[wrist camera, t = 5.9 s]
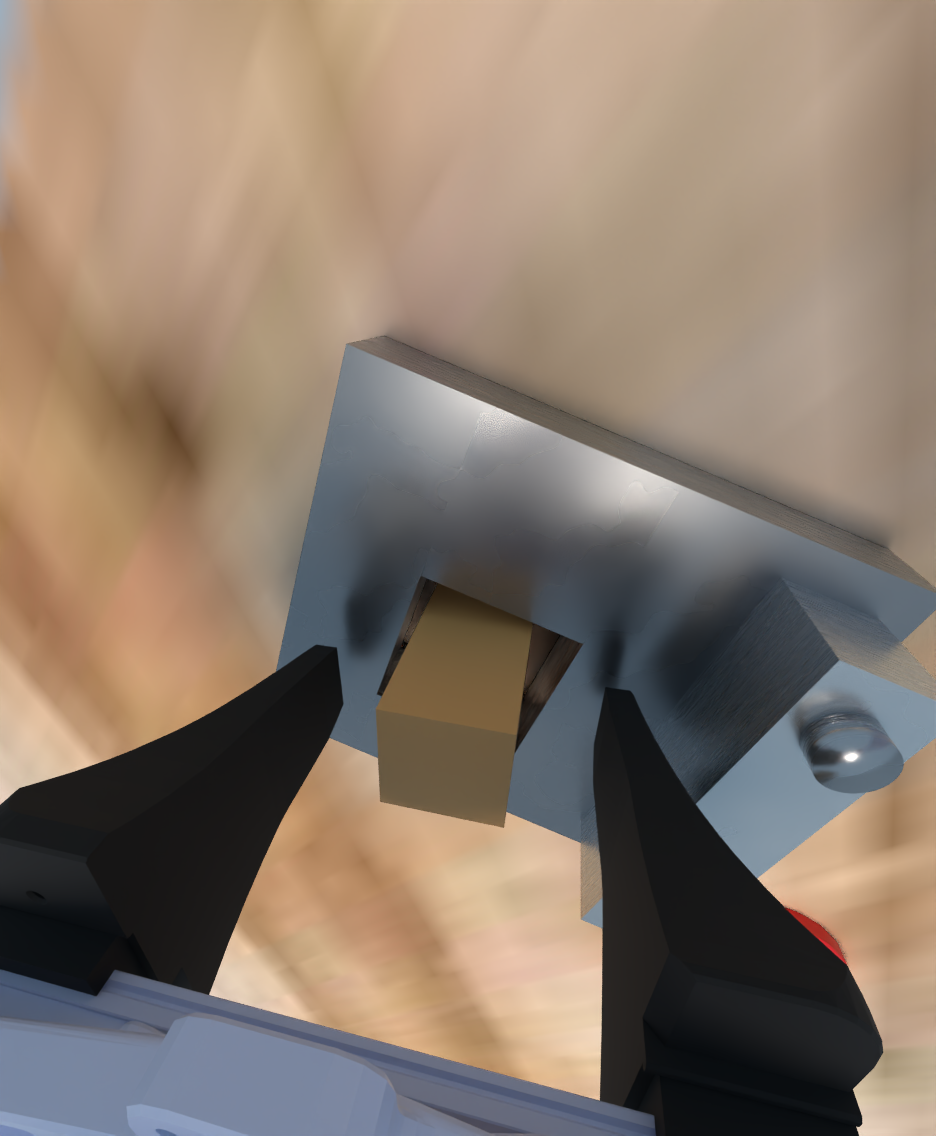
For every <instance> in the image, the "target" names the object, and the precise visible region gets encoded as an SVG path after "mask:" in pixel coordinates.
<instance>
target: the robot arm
mask: <svg viewBox="0 0 936 1136" xmlns="http://www.w3.org/2000/svg"><path fill="white" fill-rule="evenodd" d="M343 704H344V702H343V694H342V685H341V677H340V669H339V660H338V652H337V647H331V646H324V645H317V644H316V645H315V646H313V647H312V648H310V649H308V650H307V651H305V652H304V653H302V654H301V655H300V656H298V657H297V658H295V659H294V660H292V661H291V662H289V663H288V664H287V665H285V666H284V667H282V668H281V669H279V670H278V671H276V672H275V673H273V674H272V675H270V676H269V677H267V678H266V679H264V680H263V681H261V682H260V683H258V684H257V685H255V686H254V687H252V688H251V689H249V690H248V691H246V692H244V693H243V694H241V695H239V696H238V697H236V698H234V699H233V700H231V701H230V702H228V703H226V704H225V705H223V706H221V707H220V708H218V709H216V710H215V711H213V712H211V713H209V714H207V715H206V716H204V717H202V718H200V719H198V720H196V721H194V722H192V723H190V724H188V725H186V726H185V727H183V728H181V729H179V730H177V731H174V732H172V733H170V734H168V735H166V736H163V737H161V738H159V739H157V740H154V741H152V742H150V743H148V744H145V745H143V746H141V747H139V748H136V749H134V750H132V751H129V752H127V753H124V754H122V755H119V756H116V757H114V758H111V759H109V760H106V761H103V762H100V763H98V764H95V765H92V766H89V767H86V768H84V769H81V770H78V771H75V772H72V773H68V774H65V775H62V776H59V777H55V778H52V779H49V780H45V781H42V782H39V783H36V784H32V785H29V786H25V787H22V788H19V789H18V790H17V791H15V792H14V793H13V794H12V795H11V796H10V797H9V798H8V799H6V800H5V801H4V802H3V803H2V804H1V805H0V1136H859V1134H858V1131H857V1128H856V1126H857V1127H860V1126H861V1125H862V1115H861V1112H860V1109H859V1106H858V1103H857V1100H856V1098H855V1095H854V1092H853V1088H854V1087H855V1086H856V1085H857V1084H858V1083H859V1082H860V1081H861V1080H862V1079H863V1078H864V1077H865V1076H866V1075H867V1074H868V1073H869V1072H870V1071H871V1070H872V1069H873V1068H874V1067H875V1065H876V1064H877V1062H878V1060H879V1059H880V1057H881V1055H882V1054H883V1046H882V1039H881V1037H880V1035H879V1032H878V1030H877V1027H876V1025H875V1022H874V1020H873V1017H872V1015H871V1012H870V1010H869V1008H868V1006H867V1004H866V1001H865V999H864V997H863V995H862V993H861V991H860V989H859V987H858V985H857V983H856V982H855V980H854V978H853V976H852V974H851V972H850V970H849V968H848V966H847V965H846V964H845V963H844V962H843V961H842V960H841V959H840V958H839V957H838V956H836V955H835V954H834V953H833V952H832V951H831V950H830V949H829V948H828V947H827V946H825V945H824V944H823V943H822V942H821V941H820V940H819V939H818V938H817V937H816V936H814V935H813V934H812V933H811V932H810V931H809V930H808V929H807V928H806V927H805V926H803V925H802V924H801V923H800V922H799V921H798V920H797V919H796V918H795V917H794V916H793V915H792V914H791V913H790V912H789V911H788V910H787V909H786V908H785V907H784V906H783V905H782V904H781V903H780V902H779V901H778V900H777V899H776V898H775V897H774V896H773V895H772V894H771V893H770V892H769V891H768V890H767V889H766V888H765V887H764V886H763V885H762V884H761V882H760V881H759V880H758V879H757V878H756V877H755V876H754V875H753V874H752V872H751V871H750V870H749V869H748V868H747V867H746V866H745V865H744V864H743V862H742V861H741V860H740V859H739V858H738V857H737V856H736V855H735V854H734V852H733V851H732V850H731V849H730V848H729V846H728V845H727V844H726V843H725V841H724V840H723V839H722V838H721V836H720V835H719V834H718V833H717V832H716V830H715V829H714V828H713V826H712V825H711V824H710V822H709V821H708V820H707V818H706V817H705V816H704V815H703V813H702V812H701V810H700V809H699V808H698V806H697V805H696V803H695V802H694V801H693V799H692V798H691V796H690V795H689V793H688V792H687V790H686V789H685V787H684V786H683V784H682V783H681V781H680V780H679V778H678V777H677V775H676V773H675V772H674V770H673V769H672V767H671V765H670V764H669V762H668V760H667V759H666V757H665V755H664V753H663V752H662V750H661V748H660V746H659V745H658V743H657V741H656V739H655V738H654V736H653V734H652V732H651V730H650V728H649V726H648V724H647V722H646V720H645V718H644V716H643V714H642V712H641V710H640V708H639V706H638V703H637V701H636V699H635V696H634V694H633V693H632V692H631V691H630V690H623V689H616V688H609V687H605V691H604V696H603V701H602V706H601V711H600V716H599V721H598V726H597V731H596V736H595V741H594V751H593V790H594V801H595V812H596V822H597V833H598V843H599V853H600V864H601V876H602V919H603V948H602V1039H601V1080H600V1101H599V1100H595V1099H591V1098H588V1097H584V1096H580V1095H577V1094H573V1093H569V1092H566V1091H562V1090H558V1089H554V1088H551V1087H547V1086H543V1085H540V1084H536V1083H532V1082H529V1081H525V1080H521V1079H517V1078H514V1077H510V1076H506V1075H503V1074H499V1073H495V1072H492V1071H488V1070H484V1069H480V1068H477V1067H473V1066H469V1065H466V1064H462V1063H458V1062H455V1061H451V1060H447V1059H444V1058H440V1057H436V1056H432V1055H429V1054H425V1053H421V1052H418V1051H414V1050H410V1049H407V1048H403V1047H399V1046H395V1045H392V1044H388V1043H384V1042H381V1041H377V1040H373V1039H370V1038H366V1037H362V1036H358V1035H355V1034H351V1033H347V1032H344V1031H340V1030H336V1029H333V1028H329V1027H325V1026H321V1025H318V1024H314V1023H310V1022H307V1021H303V1020H299V1019H296V1018H292V1017H288V1016H284V1015H281V1014H277V1013H273V1012H270V1011H266V1010H262V1009H259V1008H255V1007H251V1006H248V1005H244V1004H240V1003H236V1002H233V1001H229V1000H225V999H222V998H218V997H214V996H211V995H209V993H210V991H211V988H212V985H213V983H214V980H215V977H216V975H217V972H218V969H219V967H220V964H221V961H222V959H223V956H224V953H225V951H226V948H227V945H228V943H229V940H230V938H231V935H232V933H233V930H234V928H235V925H236V923H237V921H238V918H239V916H240V913H241V911H242V908H243V906H244V903H245V901H246V898H247V896H248V894H249V891H250V889H251V887H252V885H253V882H254V880H255V878H256V875H257V873H258V871H259V868H260V866H261V864H262V861H263V859H264V857H265V855H266V853H267V851H268V848H269V846H270V844H271V842H272V840H273V838H274V835H275V833H276V831H277V829H278V827H279V825H280V823H281V821H282V819H283V817H284V815H285V813H286V812H287V810H288V808H289V806H290V805H291V803H292V801H293V799H294V798H295V796H296V794H297V793H298V791H299V789H300V787H301V786H302V784H303V782H304V781H305V779H306V777H307V776H308V774H309V772H310V770H311V769H312V767H313V765H314V764H315V762H316V760H317V758H318V757H319V755H320V753H321V752H322V750H323V748H324V746H325V745H326V743H327V741H328V739H329V737H330V735H331V733H332V731H333V728H334V726H335V724H336V722H337V719H338V717H339V714H340V712H341V709H342V707H343Z"/></svg>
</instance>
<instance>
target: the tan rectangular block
mask: <svg viewBox="0 0 936 1136" xmlns="http://www.w3.org/2000/svg"><path fill="white" fill-rule="evenodd" d="M532 627H533V623H532V622H529V621H527V620H525V619H522V618H520V617H518V616H515V615H513V614H510V613H508V612H506V611H503V610H501V609H499V608H496V607H494V606H491V605H489V604H487V603H484V602H482V601H480V600H477V599H475V598H472V597H470V596H468V595H465V594H463V593H461V592H458V591H456V590H453V589H451V588H449V587H446V586H444V585H442V584H439V583H438V584H437V586H436V588H435V590H434V592H433V594H432V596H431V598H430V600H429V602H428V604H427V606H426V608H425V610H424V612H423V614H422V616H421V618H420V620H419V622H418V624H417V626H416V628H415V630H414V632H413V634H412V636H411V639H410V641H409V643H408V645H407V647H406V649H405V651H404V653H403V655H402V657H401V659H400V661H399V663H398V665H397V667H396V669H395V671H394V673H393V675H392V677H391V679H390V681H389V683H388V685H387V687H386V689H385V691H384V693H383V695H382V697H381V699H380V701H379V703H378V706H377V708H376V725H377V745H378V765H379V786H380V802H384V803H389V804H394V805H399V806H403V807H408V808H413V809H418V810H422V811H427V812H432V813H437V814H441V815H446V816H451V817H456V818H460V819H465V820H470V821H475V822H479V823H484V824H489V825H494V826H498V827H503V828H504V824H505V817H506V810H507V803H508V796H509V789H510V782H511V775H512V768H513V761H514V754H515V747H516V740H517V733H518V726H519V719H520V712H521V705H522V699H523V692H524V685H525V678H526V671H527V664H528V656H529V649H530V642H531V634H532Z"/></svg>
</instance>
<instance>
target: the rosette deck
mask: <svg viewBox="0 0 936 1136" xmlns="http://www.w3.org/2000/svg"><path fill="white" fill-rule="evenodd" d="M426 579H430V580H432V581H434V582H437V583H439V584H442V585H444V586H446V587H449V588H451V589H453V590H456V591H458V592H461V593H463V594H465V595H468V596H470V597H472V598H475V599H477V600H480V601H482V602H484V603H487V604H489V605H491V606H494V607H496V608H499V609H501V610H503V611H506V612H508V613H510V614H513V615H515V616H518V617H520V618H522V619H525V620H527V621H529V622H532V623H534V624H537V625H539V626H541V627H544V628H546V629H549V630H551V631H553V632H556V633H558V634H560V637H559V638H558V640H557V642H556V644H555V645H554V647H553V649H552V650H551V652H550V654H549V655H548V657H547V659H546V661H545V662H544V664H543V666H542V667H541V669H540V671H539V672H538V674H537V676H536V678H535V679H534V681H533V683H532V684H531V686H530V688H529V689H528V691H527V693H526V695H525V696H524V698H523V699H522V705H521V712H520V719H519V726H518V733H517V740H516V747H515V754H514V761H513V768H512V775H511V782H510V789H509V796H508V803H507V810H506V812H508V813H511V814H513V815H515V816H518V817H520V818H523V819H525V820H527V821H530V822H532V823H535V824H537V825H539V826H542V827H544V828H547V829H549V830H551V831H554V832H556V833H558V834H561V835H563V836H566V837H568V838H570V839H573V840H575V841H578V842H580V843H581V920H584V921H586V922H589V923H591V924H593V925H596V926H598V927H601V928H603V919H602V876H601V864H600V853H599V843H598V833H597V822H596V812H595V801H594V790H593V751H594V741H595V736H596V731H597V726H598V721H599V716H600V711H601V706H602V701H603V696H604V691H605V687H609V688H616V689H623V690H630V691H631V692H632V693H633V694H634V696H635V699H636V701H637V703H638V706H639V708H640V710H641V712H642V714H643V716H644V718H645V720H646V722H647V724H648V726H649V728H650V730H651V732H652V734H653V736H654V738H655V739H656V741H657V743H658V745H659V746H660V748H661V750H662V752H663V753H664V755H665V757H666V759H667V760H668V762H669V764H670V765H671V767H672V769H673V770H674V772H675V773H676V775H677V777H678V778H679V780H680V781H681V783H682V784H683V786H684V787H685V789H686V790H687V792H688V793H689V795H690V796H691V798H692V799H693V801H694V802H695V803H696V805H697V806H698V808H699V809H700V810H701V812H702V813H703V815H704V816H705V817H706V818H707V820H708V821H709V822H710V824H711V825H712V826H713V828H714V829H715V830H716V832H717V833H718V834H719V835H720V836H721V838H722V839H723V840H724V841H725V843H726V844H727V845H728V846H729V848H730V849H731V850H732V851H733V852H734V854H735V855H736V856H737V857H738V858H739V859H740V860H741V861H742V862H743V864H744V865H745V866H746V867H747V868H748V869H749V870H750V871H751V872H752V874H753V875H754V876H755V877H756V878H758V877H759V876H761V875H762V874H763V873H764V872H766V871H767V870H768V869H769V868H771V867H772V866H773V865H775V864H776V863H777V862H778V861H780V860H781V859H782V858H783V857H785V856H786V855H787V854H789V853H790V852H791V851H792V850H794V849H795V848H796V847H797V846H799V845H800V844H801V843H803V842H804V841H805V840H806V839H808V838H809V837H810V836H811V835H813V834H814V833H815V832H816V831H818V830H819V829H820V828H822V827H823V826H824V825H825V824H827V823H828V822H829V821H830V820H832V819H833V818H834V817H836V816H837V815H838V814H839V813H841V812H842V811H843V810H844V809H846V808H847V807H848V806H850V805H851V804H852V803H853V802H855V801H856V800H857V799H858V798H860V797H861V796H862V795H864V794H865V793H866V792H871V791H875V790H878V789H880V788H883V787H885V786H887V785H889V784H890V783H892V782H893V781H894V780H895V779H896V778H897V777H898V776H899V775H900V773H901V772H902V769H903V765H904V762H905V761H907V760H908V759H909V758H911V757H912V756H913V755H914V754H916V753H917V752H918V751H919V750H921V749H922V748H923V747H924V746H926V745H927V744H928V743H930V742H931V741H932V740H933V739H935V738H936V680H935V679H934V678H933V677H932V676H931V675H930V674H929V672H928V671H927V670H926V669H925V668H924V667H923V666H922V665H921V664H920V663H919V662H918V660H917V659H916V658H915V657H914V656H913V655H912V654H911V653H910V652H909V651H908V650H907V648H906V647H905V646H904V645H903V644H902V643H901V642H902V641H903V640H904V639H905V638H906V637H907V636H908V635H909V634H910V633H912V632H913V631H914V630H915V629H916V628H917V627H918V626H919V625H920V624H921V623H922V622H923V621H924V620H925V619H926V618H927V617H928V616H930V615H931V614H932V613H933V612H934V611H935V610H936V588H935V587H934V586H932V585H931V584H930V583H929V582H928V581H926V580H925V579H924V578H923V577H922V576H920V575H919V574H918V573H917V572H916V571H914V570H913V569H912V568H911V567H910V566H908V565H907V564H906V563H905V562H904V561H902V560H901V559H900V558H899V557H898V556H896V555H895V554H894V553H893V552H892V551H890V550H889V549H887V548H884V547H882V546H879V545H877V544H875V543H872V542H870V541H868V540H865V539H863V538H861V537H858V536H856V535H853V534H851V533H849V532H846V531H844V530H842V529H839V528H837V527H835V526H832V525H830V524H827V523H825V522H823V521H820V520H818V519H816V518H813V517H811V516H809V515H806V514H804V513H801V512H799V511H797V510H794V509H792V508H790V507H787V506H785V505H783V504H780V503H778V502H775V501H773V500H771V499H768V498H766V497H764V496H761V495H759V494H757V493H754V492H752V491H749V490H747V489H745V488H742V487H740V486H738V485H735V484H733V483H731V482H728V481H726V480H723V479H721V478H719V477H716V476H714V475H712V474H709V473H707V472H705V471H702V470H700V469H697V468H695V467H693V466H690V465H688V464H686V463H683V462H681V461H679V460H676V459H674V458H671V457H669V456H667V455H664V454H662V453H660V452H657V451H655V450H653V449H650V448H648V447H646V446H643V445H641V444H638V443H636V442H634V441H631V440H629V439H627V438H624V437H622V436H620V435H617V434H615V433H612V432H610V431H608V430H605V429H603V428H601V427H598V426H596V425H594V424H591V423H589V422H586V421H584V420H582V419H579V418H577V417H575V416H572V415H570V414H568V413H565V412H563V411H560V410H558V409H556V408H553V407H551V406H549V405H546V404H544V403H542V402H539V401H537V400H534V399H532V398H530V397H527V396H525V395H523V394H520V393H518V392H516V391H513V390H511V389H508V388H506V387H504V386H501V385H499V384H497V383H494V382H492V381H490V380H487V379H485V378H482V377H480V376H478V375H475V374H473V373H471V372H468V371H466V370H464V369H461V368H459V367H456V366H454V365H452V364H449V363H447V362H445V361H442V360H440V359H438V358H435V357H433V356H430V355H428V354H426V353H423V352H421V351H419V350H416V349H414V348H412V347H409V346H407V345H404V344H402V343H400V342H397V341H395V340H393V339H390V338H388V337H386V336H380V337H376V338H371V339H366V340H362V341H357V342H353V343H348V344H346V348H345V352H344V357H343V362H342V366H341V371H340V376H339V380H338V385H337V390H336V394H335V399H334V404H333V408H332V413H331V418H330V422H329V427H328V432H327V436H326V441H325V445H324V450H323V455H322V459H321V464H320V469H319V473H318V478H317V483H316V487H315V492H314V497H313V501H312V506H311V511H310V515H309V520H308V525H307V529H306V534H305V539H304V543H303V548H302V553H301V557H300V562H299V567H298V571H297V576H296V581H295V585H294V590H293V595H292V599H291V604H290V609H289V613H288V618H287V623H286V627H285V632H284V637H283V641H282V646H281V651H280V655H279V660H278V665H277V669H276V671H278V670H279V669H281V668H282V667H284V666H285V665H287V664H288V663H289V662H291V661H292V660H294V659H295V658H297V657H298V656H300V655H301V654H302V653H304V652H305V651H307V650H308V649H310V648H312V647H313V646H315V645H316V644H317V645H324V646H331V647H337V652H338V660H339V669H340V677H341V685H342V694H343V702H344V704H343V707H342V709H341V712H340V714H339V717H338V719H337V722H336V724H335V726H334V728H333V731H332V733H331V735H330V737H329V738H331V739H334V740H336V741H339V742H341V743H343V744H346V745H348V746H350V747H353V748H355V749H358V750H360V751H362V752H365V753H367V754H370V755H372V756H374V757H377V758H378V745H377V725H376V708H377V706H378V703H379V701H380V699H381V697H382V695H383V693H384V691H385V689H386V687H387V685H388V683H389V681H390V679H391V677H392V675H393V673H394V671H395V669H396V667H397V665H398V663H399V661H400V659H401V657H402V655H403V653H404V651H405V649H404V648H401V645H402V642H403V640H404V637H405V634H406V632H407V629H408V626H409V624H410V621H411V618H412V616H413V613H414V611H415V608H416V605H417V603H418V600H419V597H420V595H421V592H422V589H423V587H424V584H425V581H426Z"/></svg>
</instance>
